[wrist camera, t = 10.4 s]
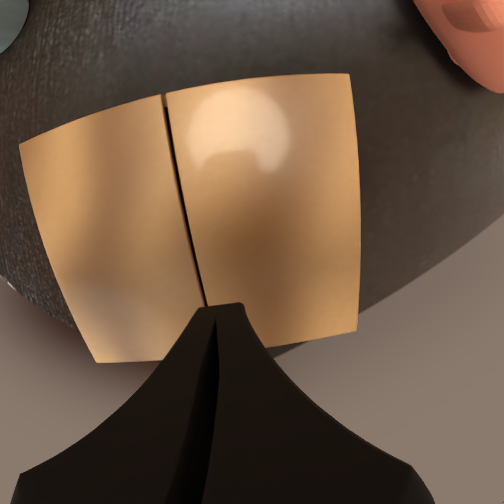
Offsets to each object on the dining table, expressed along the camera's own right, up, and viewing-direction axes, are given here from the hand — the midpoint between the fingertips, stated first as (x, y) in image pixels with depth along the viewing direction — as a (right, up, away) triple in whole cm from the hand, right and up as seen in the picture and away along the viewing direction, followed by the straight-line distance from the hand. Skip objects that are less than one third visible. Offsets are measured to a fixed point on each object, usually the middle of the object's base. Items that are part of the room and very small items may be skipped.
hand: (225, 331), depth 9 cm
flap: (+2, +3, +2) cm, 5 cm away
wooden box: (-2, +6, +9) cm, 11 cm away
